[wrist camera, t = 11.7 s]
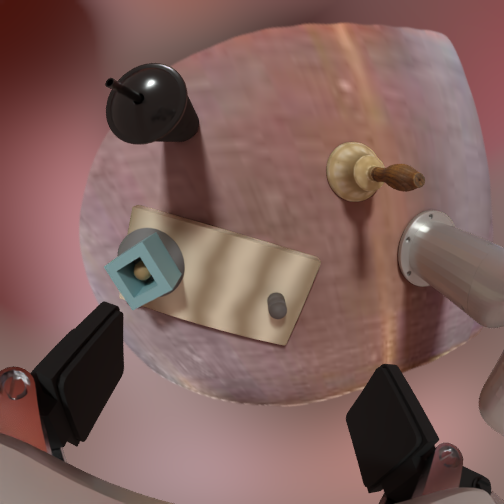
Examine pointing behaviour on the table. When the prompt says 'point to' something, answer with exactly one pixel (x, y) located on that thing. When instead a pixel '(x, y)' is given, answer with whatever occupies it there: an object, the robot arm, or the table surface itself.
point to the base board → (225, 276)
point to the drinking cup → (150, 106)
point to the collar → (155, 262)
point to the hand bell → (366, 173)
